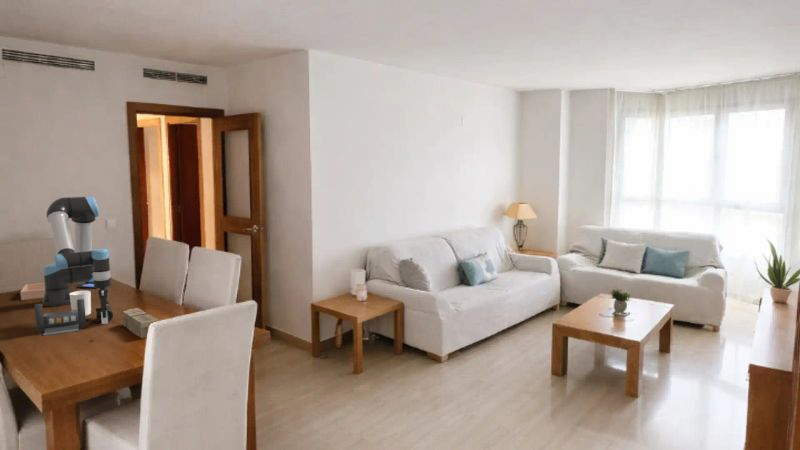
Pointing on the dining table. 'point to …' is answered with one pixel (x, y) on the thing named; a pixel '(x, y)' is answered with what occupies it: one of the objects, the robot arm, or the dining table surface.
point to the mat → (61, 329)
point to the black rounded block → (98, 315)
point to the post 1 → (39, 318)
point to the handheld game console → (87, 285)
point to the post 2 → (81, 313)
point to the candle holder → (81, 295)
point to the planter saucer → (33, 291)
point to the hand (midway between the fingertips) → (105, 320)
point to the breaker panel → (60, 318)
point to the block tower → (138, 321)
